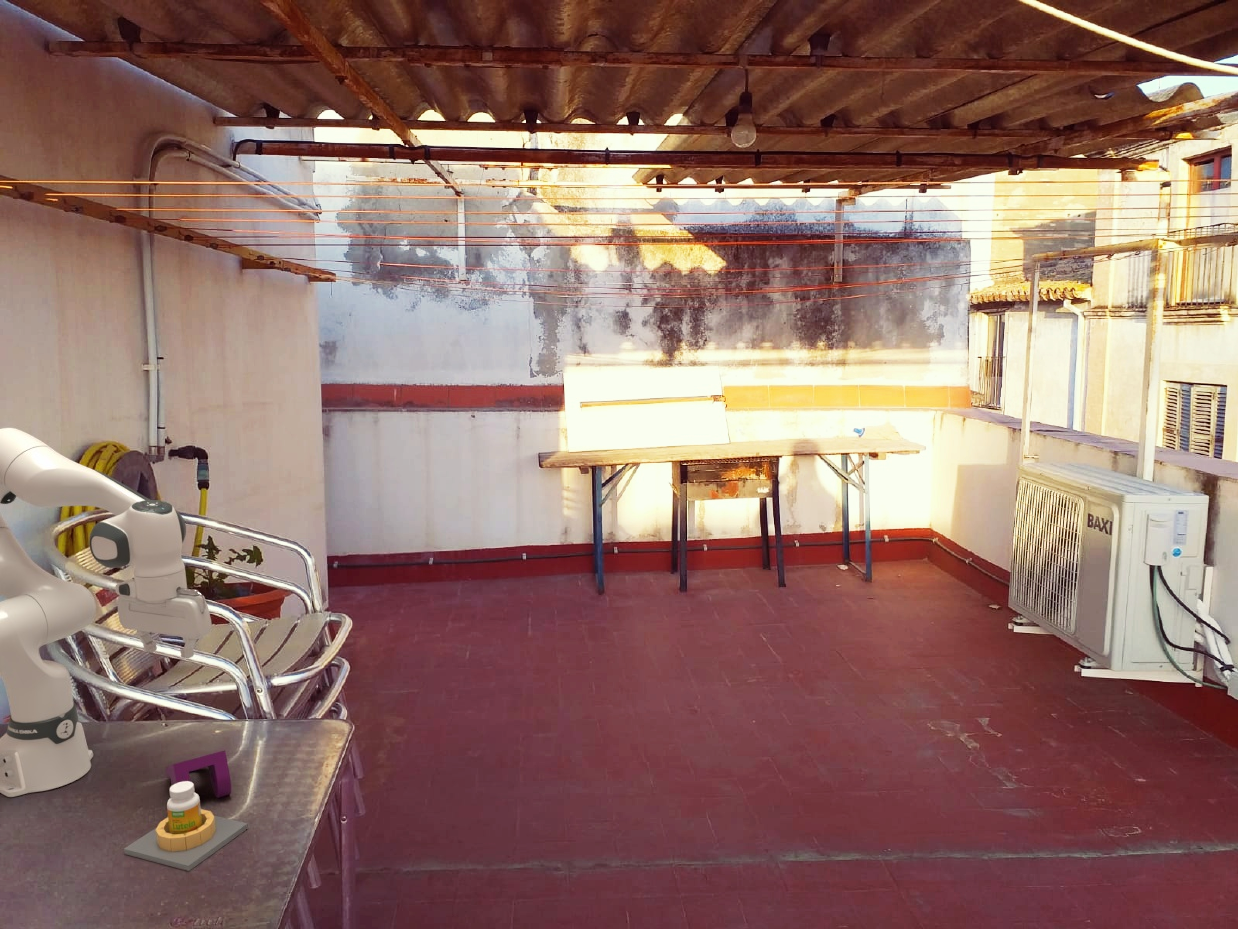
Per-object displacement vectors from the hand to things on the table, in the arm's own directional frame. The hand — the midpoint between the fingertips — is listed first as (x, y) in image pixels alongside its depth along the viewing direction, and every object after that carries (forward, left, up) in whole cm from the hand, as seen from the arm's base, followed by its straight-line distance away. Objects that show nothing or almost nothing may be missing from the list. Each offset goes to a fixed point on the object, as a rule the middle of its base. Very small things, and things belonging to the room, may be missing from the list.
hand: (168, 654), depth 185 cm
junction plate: (+14, -13, -29) cm, 35 cm away
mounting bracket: (+1, +2, -30) cm, 30 cm away
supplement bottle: (+14, -13, -28) cm, 34 cm away
